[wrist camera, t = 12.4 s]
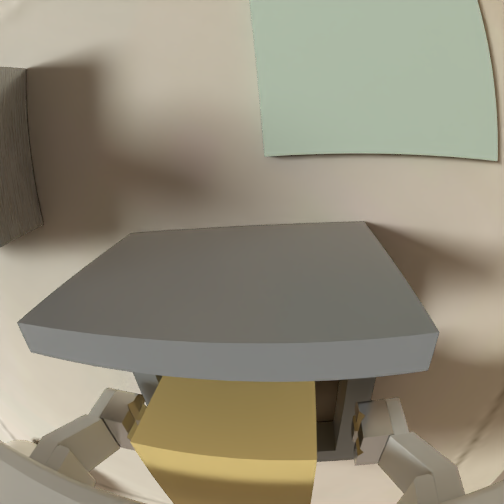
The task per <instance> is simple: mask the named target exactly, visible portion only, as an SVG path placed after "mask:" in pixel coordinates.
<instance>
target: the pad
mask: <svg viewBox="0 0 504 504" xmlns="http://www.w3.org/2000/svg"><path fill="white" fill-rule="evenodd" d="M249 1H250V10H251V19H252V28H253V38H254V48H255V58H256V68H257V78H258V88H259V99H260V110H261V121H262V133H263V144H264V156H265V157H267V156H283V155H305V154H344V153H374V154H412V155H432V156H448V157H461V158H472V159H482V160H491V161H498V131H497V111H496V98H495V88H494V80H493V72H492V65H491V59H490V53H489V47H488V42H487V37H486V33H485V28H484V24H483V20H482V16H481V12H480V8H479V5H478V1H477V0H249Z"/></svg>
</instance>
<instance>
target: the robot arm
mask: <svg viewBox="0 0 504 504" xmlns="http://www.w3.org/2000/svg"><path fill="white" fill-rule="evenodd" d="M144 402H145V399H144V397H143V395H141V394H137V393H132V392H127V391H122V390H117V389H112V388H107V389H105V390H104V391H103V393H102V394H101V396H100V397H99V399H98V400H97V402H96V404H95V405H94V407H93V408H92V410H91V411H90V413H89V414H88V415H86V414H85V415H83V416H81V417H79V418H77V419H76V420H74V421H72V422H70V423H68V424H66V425H64V426H62V427H60V428H58V429H56V430H55V431H53V432H51V433H49V434H47V435H45V436H43V437H42V439H41V440H40V441H39V443H38V444H37V446H36V447H35V449H34V450H33V452H32V453H31V455H30V456H29V457H28V456H26V455H24V454H22V453H21V452H19V451H17V450H15V449H14V448H12V447H10V446H9V445H7V444H5V443H4V442H2V441H0V504H146V503H142V502H139V501H135V500H132V499H129V498H125V497H122V496H119V495H116V494H113V493H110V492H107V491H104V490H101V489H99V488H96V487H94V486H95V484H96V480H95V479H94V478H93V476H92V475H91V474H90V473H89V471H91V470H92V469H93V468H95V467H96V466H97V465H99V464H100V463H101V462H103V461H104V460H105V459H107V458H108V457H109V456H110V455H112V454H113V453H114V452H116V451H117V450H118V449H119V448H120V447H122V448H126V449H131V450H135V449H134V447H133V446H132V444H131V443H130V441H131V439H132V437H133V435H134V433H135V431H136V429H137V427H138V425H139V423H140V421H141V419H142V417H143V414H144V412H145V410H146V408H147V406H146V405H144ZM354 409H355V415H354V416H353V418H352V425H351V436H352V441H353V442H354V443H355V445H354V449H353V454H354V463H355V465H365V464H375V463H378V465H379V466H380V467H381V468H382V469H383V471H384V472H385V473H386V474H387V475H388V476H389V477H390V478H391V480H392V481H393V482H394V483H395V484H396V485H397V486H398V487H399V488H400V490H401V491H402V492H403V493H404V495H403V496H402V497H401V499H400V500H399V501H398V502H397V504H504V480H502V481H500V482H497V483H495V484H493V485H490V486H487V487H485V488H482V489H480V490H477V491H474V492H472V493H469V494H466V495H465V492H464V488H463V485H462V481H461V478H460V475H459V471H458V468H457V465H455V464H454V463H453V462H451V461H450V460H449V459H448V458H446V457H445V456H444V455H442V454H441V453H440V452H439V451H437V450H436V449H435V448H433V447H432V446H431V445H430V444H428V443H427V442H426V441H424V440H423V439H422V438H421V437H419V436H418V435H417V434H416V433H414V432H409V429H408V425H407V422H406V418H405V415H404V412H403V408H402V405H401V402H400V399H399V398H398V397H397V398H389V399H379V400H371V401H361V402H356V404H355V408H354Z"/></svg>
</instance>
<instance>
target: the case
mask: <svg viewBox="0 0 504 504" xmlns="http://www.w3.org/2000/svg"><path fill="white" fill-rule="evenodd" d="M17 323H18V326H19V328H20V330H21V332H22V334H23V337H24V339H25V341H26V343H27V345H28V347H29V349H30V351H31V352H33V353H36V354H41V355H45V356H49V357H53V358H58V359H62V360H67V361H72V362H77V363H82V364H87V365H92V366H98V367H104V368H110V369H116V370H122V371H129V372H133V374H134V376H135V379H136V381H137V384H138V386H139V388H140V391H141V393H142V395H143V397H144V399H145V402H146V404H147V406H148V404H149V402H150V400H151V398H152V396H153V394H154V392H155V390H156V388H157V386H158V384H159V382H160V380H161V378H162V376H171V377H181V378H193V379H207V380H224V381H253V382H299V381H327V380H339V385H338V393H337V400H336V407H335V414H334V421H333V422H316V431H317V462H321V461H338V460H350V459H354V454H353V449H354V445H355V443H354V442H353V441H352V436H351V425H352V418H353V416H354V415H355V409H354V408H355V404H356V402H361V401H370V400H371V396H372V392H373V387H374V383H375V378H376V377H380V376H389V375H398V374H406V373H413V372H421V371H427V370H428V369H429V365H430V362H431V359H432V356H433V352H434V349H435V345H436V342H437V338H438V335H439V331H438V329H437V328H436V326H435V324H434V323H433V321H432V320H431V318H430V316H429V315H428V313H427V311H426V310H425V308H424V307H423V305H422V304H421V302H420V300H419V299H418V297H417V296H416V294H415V293H414V291H413V290H412V288H411V287H410V285H409V284H408V282H407V281H406V279H405V278H404V276H403V275H402V273H401V272H400V270H399V269H398V268H397V266H396V265H395V263H394V262H393V260H392V259H391V258H390V256H389V255H388V253H387V252H386V251H385V249H384V248H383V246H382V245H381V244H380V242H379V241H378V240H377V238H376V237H375V236H374V234H373V233H372V231H371V230H370V229H369V228H368V226H367V225H366V224H365V222H364V221H363V222H330V223H302V224H278V225H257V226H237V227H218V228H201V229H184V230H169V231H154V232H140V233H130V234H129V235H128V236H126V237H125V238H123V239H122V240H121V241H119V242H118V243H116V244H115V245H114V246H112V247H111V248H110V249H108V250H107V251H106V252H104V253H103V254H101V255H100V256H99V257H97V258H96V259H95V260H93V261H92V262H91V263H89V264H88V265H87V266H86V267H84V268H83V269H82V270H80V271H79V272H78V273H76V274H75V275H74V276H73V277H71V278H70V279H69V280H67V281H66V282H65V283H64V284H62V285H61V286H60V287H59V288H57V289H56V290H55V291H54V292H53V293H51V294H50V295H49V296H48V297H46V298H45V299H44V300H43V301H42V302H40V303H39V304H38V305H37V306H36V307H34V308H33V309H32V310H31V311H30V312H29V313H27V314H26V315H25V316H24V317H23V318H22V319H20V320H19V321H18V322H17Z"/></svg>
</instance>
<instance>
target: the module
mask: <svg viewBox="0 0 504 504" xmlns="http://www.w3.org/2000/svg"><path fill="white" fill-rule="evenodd" d="M130 443H131V444H132V446H133V447H134V449H135V450H136V452H137V453H138V455H139V457H140V458H141V460H142V461H143V462H144V464H145V465H146V467H147V468H148V470H149V471H150V473H151V474H152V475H153V477H154V478H155V480H156V481H157V482H158V484H159V485H160V486H161V488H162V489H163V490H164V492H165V493H166V494H167V496H168V497H169V498H170V499H171V501H172V502H173V503H174V504H310V503H311V497H312V490H313V484H314V477H315V470H316V463H317V431H316V397H315V381H299V382H253V381H224V380H207V379H193V378H181V377H171V376H162V378H161V380H160V382H159V384H158V386H157V388H156V390H155V392H154V394H153V396H152V398H151V400H150V402H149V404H148V406H147V408H146V410H145V412H144V414H143V417H142V419H141V421H140V423H139V425H138V427H137V429H136V431H135V433H134V435H133V437H132V439H131V441H130Z"/></svg>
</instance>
